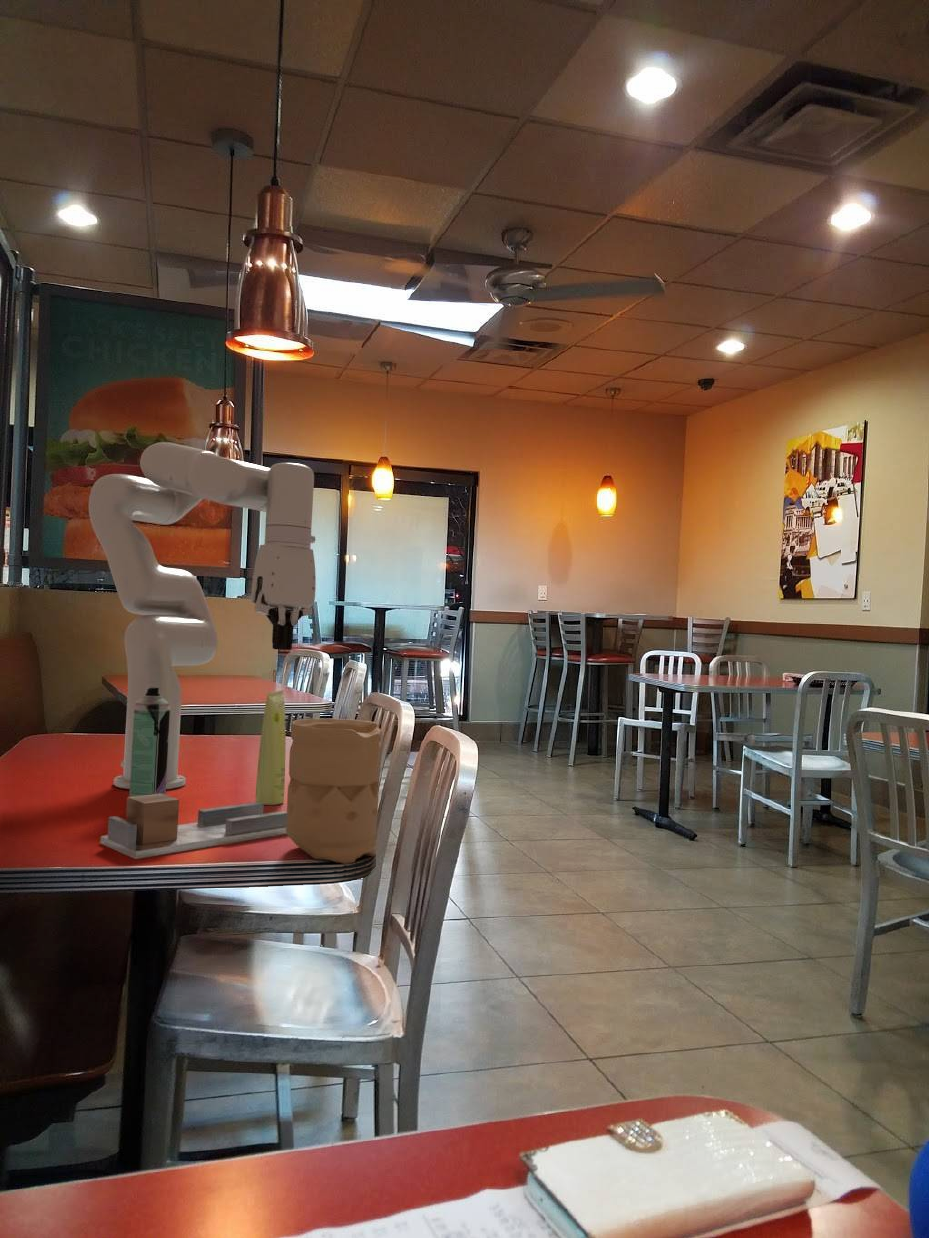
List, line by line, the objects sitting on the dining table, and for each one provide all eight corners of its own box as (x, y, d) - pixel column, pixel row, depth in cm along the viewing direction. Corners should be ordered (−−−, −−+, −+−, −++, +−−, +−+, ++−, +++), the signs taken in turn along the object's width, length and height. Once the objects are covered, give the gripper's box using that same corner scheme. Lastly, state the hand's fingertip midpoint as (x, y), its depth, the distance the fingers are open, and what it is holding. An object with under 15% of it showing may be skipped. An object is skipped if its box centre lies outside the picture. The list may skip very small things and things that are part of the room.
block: (125, 837, 121) (127, 797, 121) (158, 832, 124) (161, 793, 124) (142, 844, 117) (144, 803, 117) (177, 839, 121) (179, 799, 121)
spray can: (170, 812, 142) (177, 688, 142) (138, 816, 138) (145, 689, 138) (154, 806, 145) (160, 685, 146) (122, 810, 141) (129, 686, 142)
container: (387, 846, 127) (393, 722, 127) (357, 869, 115) (364, 731, 115) (306, 837, 130) (312, 716, 130) (268, 858, 118) (276, 724, 118)
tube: (289, 805, 152) (295, 692, 152) (261, 807, 149) (267, 692, 149) (277, 798, 157) (283, 689, 157) (250, 800, 154) (256, 689, 154)
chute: (100, 843, 121) (102, 814, 121) (255, 820, 139) (256, 795, 139) (135, 859, 114) (137, 828, 114) (293, 832, 132) (294, 806, 132)
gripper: (310, 544, 154) (304, 649, 154) (236, 534, 143) (230, 647, 143) (337, 543, 149) (331, 651, 148) (262, 533, 138) (256, 650, 137)
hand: (282, 649), depth 145 cm, fingers closed
